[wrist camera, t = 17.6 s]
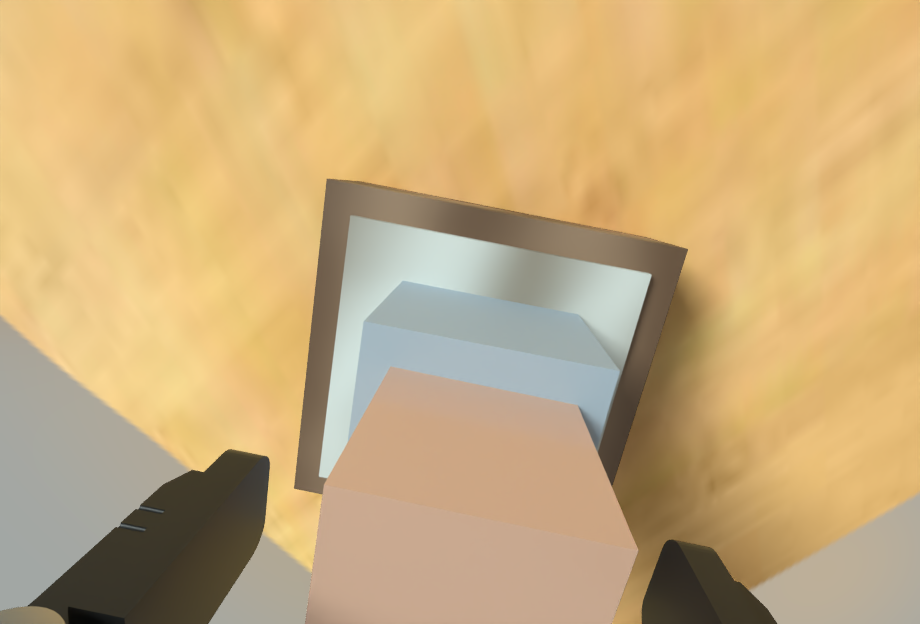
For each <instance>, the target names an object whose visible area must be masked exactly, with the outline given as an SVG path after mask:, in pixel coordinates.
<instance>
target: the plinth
mask: <svg viewBox="0 0 920 624" xmlns="http://www.w3.org/2000/svg"><path fill="white" fill-rule="evenodd" d="M687 251H688V249H685V248H682V247H678V246H675V245H671V244H668V243H664V242H661V241H657V240H654V239H651V238H647V237H642V236H637V235H632V234H627V233H622V232H616V231H611V230H606V229H601V228H596V227H591V226H586V225H581V224H575V223H570V222H565V221H560V220H555V219H550V218H545V217H540V216H534V215H529V214H524V213H519V212H514V211H509V210H504V209H499V208H494V207H488V206H483V205H478V204H473V203H468V202H463V201H458V200H453V199H447V198H442V197H437V196H432V195H427V194H422V193H417V192H412V191H406V190H401V189H396V188H391V187H386V186H381V185H376V184H371V183H365V182H360V181H349V180H337V179H327V183H326V192H325V202H324V211H323V220H322V230H321V239H320V249H319V258H318V268H317V277H316V287H315V296H314V306H313V315H312V324H311V334H310V343H309V353H308V362H307V372H306V381H305V391H304V400H303V410H302V419H301V428H300V438H299V447H298V457H297V466H296V476H295V485H294V489H299V490H304V491H309V492H314V493H319V494H323V488H324V484H325V482H326V480H327V478H328V477H329V475H330V473H331V471H332V469H333V468H334V466H335V464H336V462H337V461H338V459H339V457H340V455H341V453H342V452H343V450H344V448H345V446H346V445H347V443H348V435H349V428H350V420H351V413H352V405H353V397H354V390H355V382H356V375H357V367H358V360H359V352H360V345H361V337H362V330H363V322H364V320H365V319H366V318H367V317H368V316H369V315H370V314H371V313H372V312H373V311H374V310H375V309H376V308H377V307H378V306H379V305H380V304H381V303H382V302H383V301H384V300H385V299H386V298H387V297H388V296H389V294H390V293H391V292H392V291H393V290H394V289H395V288H396V287H397V286H398V285H399V284H400V283H401V282H402V281H408V282H413V283H418V284H423V285H429V286H434V287H439V288H444V289H449V290H454V291H460V292H465V293H470V294H475V295H480V296H486V297H491V298H496V299H501V300H506V301H511V302H517V303H522V304H527V305H532V306H537V307H542V308H548V309H553V310H558V311H563V312H568V313H573V314H578V315H579V316H580V317H581V319H582V320H583V321H584V323H585V324H586V325H587V327H588V328H589V329H590V331H591V332H592V334H593V335H594V336H595V338H596V339H597V340H598V342H599V343H600V344H601V346H602V347H603V349H604V350H605V351H606V353H607V354H608V355H609V357H610V358H611V359H612V361H613V362H614V363H615V365H616V366H617V368H618V369H619V370H620V373H619V376H618V380H617V383H616V386H615V390H614V393H613V397H612V400H611V403H610V407H609V410H608V413H607V417H606V420H605V423H604V427H603V430H602V433H601V437H600V440H599V444H598V447H597V453H598V455H599V457H600V460H601V462H602V465H603V467H604V469H605V472H606V474H607V477H608V479H609V481H610V484H611V486H612V485H613V482H614V478H615V475H616V472H617V469H618V466H619V463H620V460H621V457H622V453H623V450H624V447H625V444H626V441H627V438H628V435H629V432H630V429H631V425H632V422H633V419H634V416H635V413H636V410H637V407H638V404H639V400H640V397H641V394H642V391H643V388H644V385H645V382H646V379H647V376H648V372H649V369H650V366H651V363H652V360H653V357H654V354H655V351H656V347H657V344H658V341H659V338H660V335H661V332H662V329H663V326H664V323H665V319H666V316H667V313H668V310H669V307H670V304H671V301H672V298H673V294H674V291H675V288H676V285H677V282H678V279H679V276H680V273H681V270H682V266H683V263H684V260H685V257H686V254H687Z"/></svg>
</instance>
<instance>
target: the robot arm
mask: <svg viewBox="0 0 920 624" xmlns="http://www.w3.org/2000/svg"><path fill="white" fill-rule="evenodd" d="M269 469H270V462H269V458H268V457H267V456H262V455H257V454H252V453H247V452H242V451H237V450H232V449H229V450H227V451H225V452H224V453H223V454H222V455H221V456H220V457H219V458H218V459H217V460H216V461H215V462H214V463H213V464H212V465H211V466H210V467H209V468H208V469H207V470H206V471H205V472H200V471H195V470H191V471H189V472H188V473H185V474H183V475H182V476H180V477H178V478H175V479H174V480H171V481H170V482H168V483H165V484H163V485H162V486H161V487H160V488H159V489H158V490H157V491H156V492H154V493H153V494H152V495H151V496H150V497H149V498H148V499H147V500H145V501H144V503H142V504H141V505H140V508H139V509H138V510H137V509H136V510H134V511H133V512H132V513H131V514H130V515H129V516H128V517H127V518H126V519H124V520H123V521H122V522H121V524H120V526H119V527H118V528H117V527H116V528H114V529H113V530H112V531H111V532H110V533H109V534H108V535H107V536H105V537H104V538H103V539H102V540H101V541H100V542H99V543H98V544H97V545H95V546H94V547H93V548H92V549H91V550H90V551H89V552H88V553H87V554H85V555H84V556H83V557H82V558H81V559H80V560H79V561H78V562H76V563H75V564H74V565H73V566H72V567H71V568H70V569H69V570H68V571H67V572H65V573H64V574H63V575H62V576H61V577H60V578H59V579H58V580H56V581H55V582H54V583H53V584H52V585H51V586H50V587H49V588H48V589H46V591H44V592H43V593H42V594H41V595H40V596H39V597H38V598H37V599H35V600H34V601H33V602H32V603H31V604H30V605H28V606H25V607H16V608H11V609H6V610H2V611H0V624H208V623H209V622H210V620H211V619H212V617H213V615H214V614H215V612H216V611H217V609H218V607H219V606H220V605H221V603H222V602H223V600H224V598H225V597H226V595H227V594H228V592H229V591H230V589H231V588H232V586H233V584H234V583H235V581H236V580H237V579H238V577H239V575H240V574H241V572H242V571H243V569H244V568H245V566H246V565H247V563H248V562H249V560H250V558H251V557H252V555H253V554H254V551H255V550H256V548H257V546H258V543H259V541H260V538H261V535H262V532H263V528H264V523H265V515H266V503H267V492H268V481H269ZM642 624H777V623H776V621H775V620H774V618H773V617H772V615H771V614H770V612H769V611H768V609H767V608H766V607H765V606H764V605H763V604H762V603H760V601H759V600H758V599H757V598H756V597H754V595H753V594H752V593H750V592H749V591H748V590H747V589H746V588H745V587H744V586H743V585H742V584H741V583H740V582H735V581H734V580H733V578H732V577H731V575H730V574H729V572H728V570H727V569H726V567H725V566H724V564H723V563H722V561H721V559H720V558H719V556H718V555H717V553H716V552H715V551H714V550H713V549H712V548H710V547H706V546H701V545H696V544H691V543H686V542H681V541H676V540H668V541H667V542H666V543H665V544H664V546H663V548H662V551H661V554H660V556H659V559H658V562H657V564H656V567H655V570H654V573H653V575H652V578H651V581H650V583H649V586H648V589H647V591H646V594H645V597H644V600H643V605H642Z"/></svg>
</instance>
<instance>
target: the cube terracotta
mask: <svg viewBox="0 0 920 624" xmlns="http://www.w3.org/2000/svg"><path fill="white" fill-rule="evenodd" d="M637 553H638V548H637V546H636V543H635V541H634V539H633V536H632V534H631V532H630V529H629V527H628V524H627V522H626V520H625V517H624V515H623V512H622V510H621V508H620V505H619V503H618V500H617V498H616V496H615V493H614V491H613V488H612V486H611V484H610V481H609V479H608V477H607V474H606V472H605V469H604V467H603V465H602V462H601V460H600V457H599V455H598V453H597V450H596V448H595V445H594V443H593V441H592V438H591V436H590V434H589V431H588V429H587V426H586V424H585V422H584V419H583V417H582V414H581V412H580V410H579V407H578V405H574V404H570V403H565V402H560V401H555V400H550V399H546V398H541V397H536V396H531V395H526V394H521V393H517V392H512V391H507V390H502V389H497V388H493V387H488V386H483V385H478V384H473V383H468V382H464V381H459V380H454V379H449V378H444V377H440V376H435V375H430V374H425V373H420V372H415V371H411V370H406V369H401V368H396V367H391V366H390V368H389V370H388V372H387V373H386V375H385V377H384V379H383V381H382V382H381V384H380V386H379V388H378V389H377V391H376V393H375V395H374V397H373V398H372V400H371V402H370V404H369V405H368V407H367V409H366V411H365V413H364V414H363V416H362V418H361V420H360V421H359V423H358V425H357V427H356V429H355V430H354V432H353V434H352V436H351V437H350V439H349V441H348V443H347V445H346V446H345V448H344V450H343V452H342V453H341V455H340V457H339V459H338V461H337V462H336V464H335V466H334V468H333V469H332V471H331V473H330V475H329V477H328V478H327V480H326V482H325V484H324V488H323V495H322V503H321V510H320V517H319V525H318V532H317V540H316V547H315V554H314V562H313V569H312V576H311V584H310V591H309V598H308V606H307V613H306V621H305V624H612V622H613V619H614V616H615V614H616V611H617V608H618V605H619V603H620V600H621V597H622V594H623V592H624V589H625V586H626V584H627V581H628V578H629V575H630V573H631V570H632V567H633V564H634V562H635V559H636V556H637Z"/></svg>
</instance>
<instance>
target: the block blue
mask: <svg viewBox="0 0 920 624" xmlns="http://www.w3.org/2000/svg"><path fill="white" fill-rule="evenodd" d="M390 366H391V367H396V368H401V369H406V370H411V371H415V372H420V373H425V374H430V375H435V376H440V377H444V378H449V379H454V380H459V381H464V382H468V383H473V384H478V385H483V386H488V387H493V388H497V389H502V390H507V391H512V392H517V393H521V394H526V395H531V396H536V397H541V398H546V399H550V400H555V401H560V402H565V403H570V404H574V405H578V407H579V410H580V412H581V414H582V417H583V419H584V422H585V424H586V426H587V429H588V431H589V434H590V436H591V438H592V441H593V443H594V445H595V448H596V450H597V447H598V444H599V440H600V437H601V433H602V430H603V427H604V423H605V420H606V417H607V413H608V410H609V407H610V403H611V400H612V397H613V393H614V390H615V386H616V383H617V380H618V376H619V373H620V370H619V369H618V368H617V366H616V365H615V363H614V362H613V361H612V359H611V358H610V357H609V355H608V354H607V353H606V351H605V350H604V349H603V347H602V346H601V344H600V343H599V342H598V340H597V339H596V338H595V336H594V335H593V334H592V332H591V331H590V329H589V328H588V327H587V325H586V324H585V323H584V321H583V320H582V319H581V317H580V316H579V315H578V314H573V313H568V312H563V311H558V310H553V309H548V308H542V307H537V306H532V305H527V304H522V303H517V302H511V301H506V300H501V299H496V298H491V297H486V296H480V295H475V294H470V293H465V292H460V291H454V290H449V289H444V288H439V287H434V286H429V285H423V284H418V283H413V282H408V281H402V282H401V283H400V284H399V285H398V286H397V287H396V288H395V289H394V290H393V291H392V292H391V293H390V294H389V296H388V297H387V298H386V299H385V300H384V301H383V302H382V303H381V304H380V305H379V306H378V307H377V308H376V309H375V310H374V311H373V312H372V313H371V314H370V315H369V316H368V317H367V318H366V319H365V320H364V322H363V330H362V337H361V345H360V352H359V360H358V367H357V375H356V382H355V390H354V397H353V405H352V413H351V420H350V428H349V435H348V441H349V439H350V437H351V436H352V434H353V432H354V430H355V429H356V427H357V425H358V423H359V421H360V420H361V418H362V416H363V414H364V413H365V411H366V409H367V407H368V405H369V404H370V402H371V400H372V398H373V397H374V395H375V393H376V391H377V389H378V388H379V386H380V384H381V382H382V381H383V379H384V377H385V375H386V373H387V372H388V370H389V368H390Z"/></svg>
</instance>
